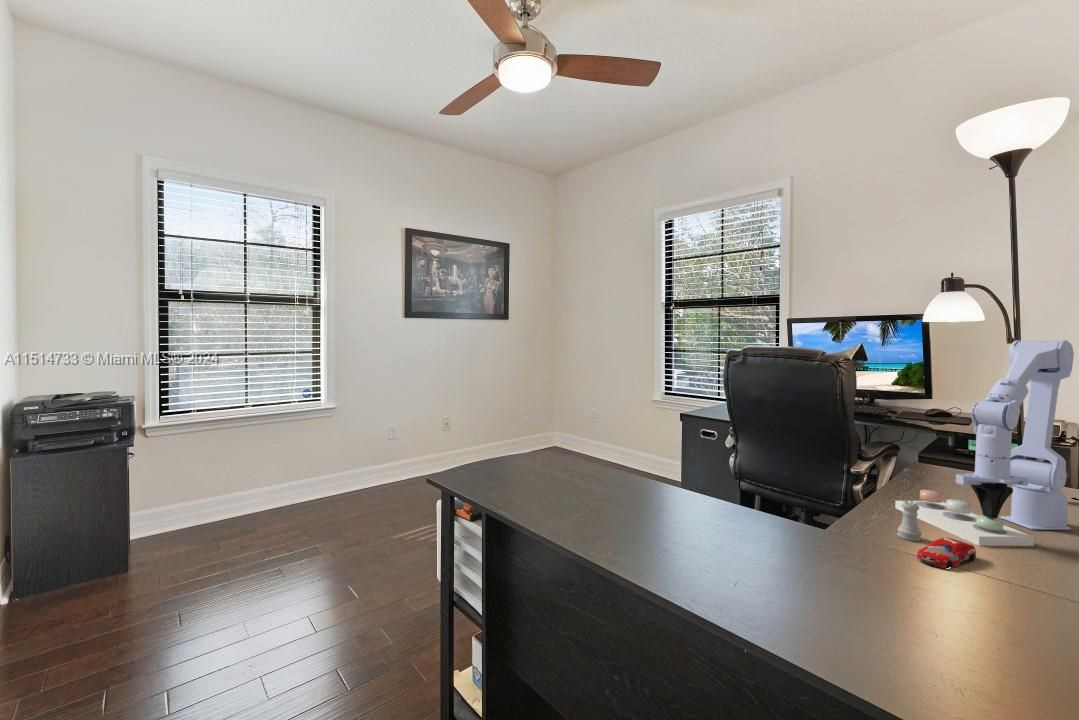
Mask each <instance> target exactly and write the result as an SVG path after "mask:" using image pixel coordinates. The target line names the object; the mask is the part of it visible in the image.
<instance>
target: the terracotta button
mask: <svg viewBox="0 0 1079 720" xmlns="http://www.w3.org/2000/svg"><path fill="white" fill-rule="evenodd" d="M919 499H920V501H928V502H933V503H941V502H943V492H940V491H937V490H931V489H920V491H919Z"/></svg>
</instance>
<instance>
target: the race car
mask: <svg viewBox="0 0 1079 720" xmlns="http://www.w3.org/2000/svg"><path fill="white" fill-rule="evenodd" d="M926 544H927V545H926V546H924V547H922V548H920V549H918V550H917V555H916V556H917V559H918V560H919V559H920V560H921V562H922V563H925V564H927V563H928V565H931V566H933V565H934V567H938V568H941V569H945V568H949V567H951V568H954V567H958V566H961V565H964V564H967V563H973V562H974V561H975V560H976V559H977V558H976V557H977V551H976V547H975V546H974V545H973V544H971V543H968V542H965V541H963V540H962V541H961V540H958V539H955V538H952V537H941V538H938V539H936V540H933V541H932V542H931V543H930V542H929V541H928V542H926ZM920 560H919V561H920Z"/></svg>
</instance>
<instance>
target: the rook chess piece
mask: <svg viewBox="0 0 1079 720" xmlns="http://www.w3.org/2000/svg"><path fill="white" fill-rule="evenodd" d="M902 501H903V504H902V505H901V506H902V507H903V509H904V510H903V512H902V511H901V512H902V519H901V523H900V524H899V526H898V528H897V531H898V532H897V533H896V535H897V536H898V538H899V539H901V540H905V541H908V542H918V543H919V542H920V541H921V540H923V538H922V531H920V528H919V525H918V518H917V515H918V514H917V510H918V509H919V506H918V503H917V502H914V503H913V501H914V500H907V499H906V500H902ZM908 501H910V503H908Z"/></svg>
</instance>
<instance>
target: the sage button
mask: <svg viewBox="0 0 1079 720" xmlns="http://www.w3.org/2000/svg"><path fill="white" fill-rule="evenodd" d="M977 515H978V514H977ZM1003 525H1004V519H1002V518H999V517H997V519H991V518H988V517H986V516H983V514H979V515H978V516H977V518H976V526H978V527H980V528H982V529H986V530H990V531H1003Z"/></svg>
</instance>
